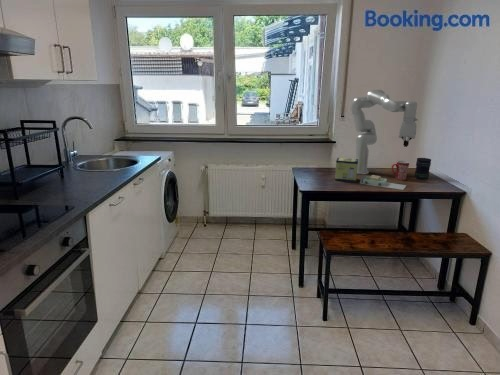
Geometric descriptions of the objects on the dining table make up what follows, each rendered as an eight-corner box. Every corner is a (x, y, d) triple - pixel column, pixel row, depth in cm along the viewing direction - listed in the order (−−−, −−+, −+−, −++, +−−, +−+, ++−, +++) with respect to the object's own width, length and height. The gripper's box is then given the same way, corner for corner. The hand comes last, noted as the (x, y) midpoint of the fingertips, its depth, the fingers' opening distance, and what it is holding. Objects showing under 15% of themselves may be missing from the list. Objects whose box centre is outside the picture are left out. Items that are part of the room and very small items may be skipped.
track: (359, 183, 246) (360, 178, 245) (364, 179, 256) (365, 174, 255) (403, 190, 230) (403, 184, 229) (406, 185, 240) (407, 180, 239)
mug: (403, 177, 261) (406, 160, 257) (409, 180, 253) (411, 162, 249) (387, 177, 261) (389, 160, 257) (392, 180, 252) (395, 163, 248)
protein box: (336, 177, 264) (337, 157, 259) (356, 178, 259) (358, 158, 254) (334, 180, 254) (335, 160, 250) (356, 182, 249) (358, 161, 245)
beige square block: (371, 180, 250) (372, 175, 248) (379, 181, 246) (380, 176, 245) (369, 182, 245) (369, 176, 244) (377, 183, 242) (378, 178, 241)
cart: (362, 183, 245) (362, 179, 244) (367, 179, 254) (367, 175, 253) (382, 186, 237) (383, 182, 237) (386, 182, 247) (387, 178, 246)
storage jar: (430, 180, 253) (433, 160, 249) (416, 179, 255) (418, 160, 251) (426, 176, 263) (429, 157, 258) (412, 176, 264) (415, 157, 260)
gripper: (421, 120, 231) (418, 146, 236) (398, 119, 239) (395, 144, 244) (420, 121, 225) (416, 148, 230) (396, 120, 233) (393, 146, 238)
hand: (405, 146), depth 237 cm, fingers closed
